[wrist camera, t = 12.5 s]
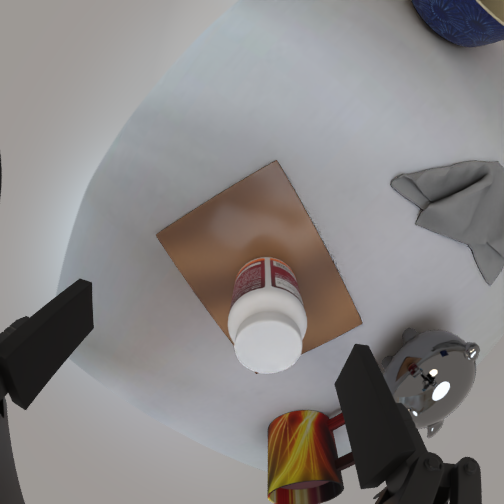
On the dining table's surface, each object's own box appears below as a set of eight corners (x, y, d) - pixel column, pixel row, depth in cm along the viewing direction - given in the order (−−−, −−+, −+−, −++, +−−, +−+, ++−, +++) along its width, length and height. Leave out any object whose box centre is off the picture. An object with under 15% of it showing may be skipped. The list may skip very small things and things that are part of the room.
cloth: (537, 221, 26) (546, 224, 24) (498, 298, 30) (506, 305, 28) (433, 95, 23) (444, 92, 21) (380, 198, 27) (389, 201, 25)
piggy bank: (344, 383, 34) (364, 450, 23) (415, 291, 30) (467, 345, 19) (398, 399, 35) (423, 455, 24) (463, 321, 31) (508, 369, 20)
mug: (360, 399, 35) (381, 465, 24) (310, 449, 39) (317, 508, 28) (301, 384, 34) (311, 459, 23) (257, 438, 38) (255, 502, 27)
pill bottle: (237, 311, 30) (225, 381, 20) (233, 255, 29) (217, 310, 18) (296, 309, 30) (309, 380, 20) (297, 254, 28) (315, 308, 18)
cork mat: (157, 233, 29) (155, 235, 28) (276, 159, 26) (276, 159, 26) (256, 371, 34) (256, 374, 33) (361, 320, 31) (362, 323, 30)
